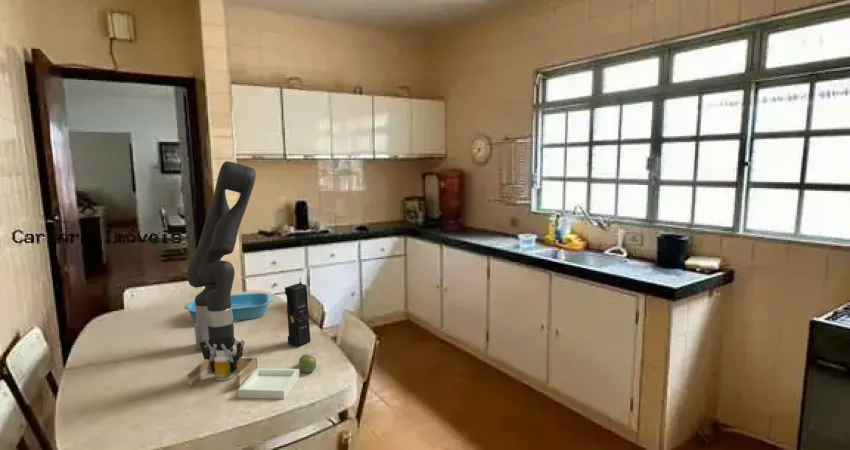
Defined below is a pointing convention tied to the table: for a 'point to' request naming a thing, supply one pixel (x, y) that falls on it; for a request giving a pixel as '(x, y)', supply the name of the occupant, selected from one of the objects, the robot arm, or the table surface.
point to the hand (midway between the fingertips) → (224, 371)
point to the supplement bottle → (222, 366)
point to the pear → (307, 363)
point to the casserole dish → (242, 306)
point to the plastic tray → (269, 383)
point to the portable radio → (297, 314)
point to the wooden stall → (243, 364)
